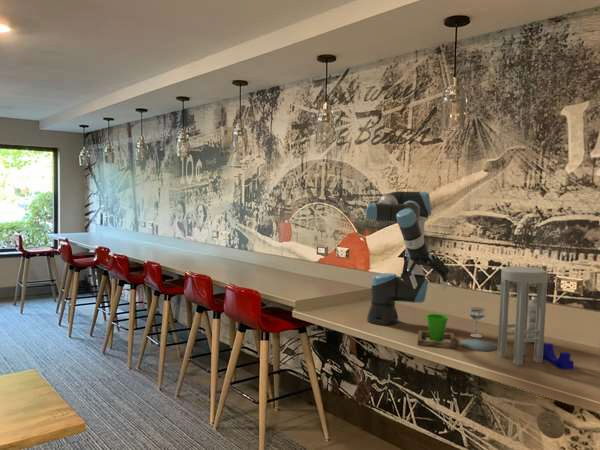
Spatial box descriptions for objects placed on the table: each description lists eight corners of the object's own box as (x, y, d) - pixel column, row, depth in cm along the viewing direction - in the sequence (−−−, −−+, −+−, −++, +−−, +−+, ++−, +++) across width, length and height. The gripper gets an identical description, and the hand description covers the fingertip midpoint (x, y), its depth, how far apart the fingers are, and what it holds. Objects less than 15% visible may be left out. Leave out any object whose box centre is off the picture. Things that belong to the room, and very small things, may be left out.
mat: (453, 341, 208) (453, 340, 208) (481, 339, 213) (481, 338, 213) (474, 352, 195) (474, 351, 195) (503, 349, 199) (503, 348, 199)
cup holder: (417, 344, 203) (417, 340, 203) (418, 334, 218) (418, 330, 218) (455, 348, 199) (455, 343, 199) (453, 338, 214) (454, 333, 214)
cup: (448, 345, 203) (449, 319, 203) (425, 343, 205) (426, 318, 204) (446, 339, 212) (447, 314, 211) (424, 337, 214) (425, 312, 213)
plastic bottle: (541, 341, 212) (543, 295, 210) (543, 345, 205) (546, 299, 204) (524, 339, 214) (527, 294, 212) (526, 344, 207) (529, 297, 206)
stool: (489, 353, 194) (493, 266, 192) (522, 350, 198) (526, 265, 196) (516, 367, 179) (521, 273, 177) (551, 364, 184) (556, 271, 181)
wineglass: (484, 334, 220) (485, 308, 219) (483, 338, 214) (484, 311, 213) (468, 332, 223) (470, 306, 222) (467, 336, 217) (468, 309, 216)
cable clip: (573, 369, 179) (574, 353, 178) (561, 369, 178) (562, 353, 178) (553, 358, 191) (554, 343, 190) (542, 358, 190) (543, 343, 190)
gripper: (385, 250, 204) (400, 291, 212) (441, 249, 188) (456, 293, 196) (392, 241, 209) (407, 281, 217) (448, 238, 193) (461, 282, 201)
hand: (430, 287), depth 206 cm, fingers open, 13 cm apart
